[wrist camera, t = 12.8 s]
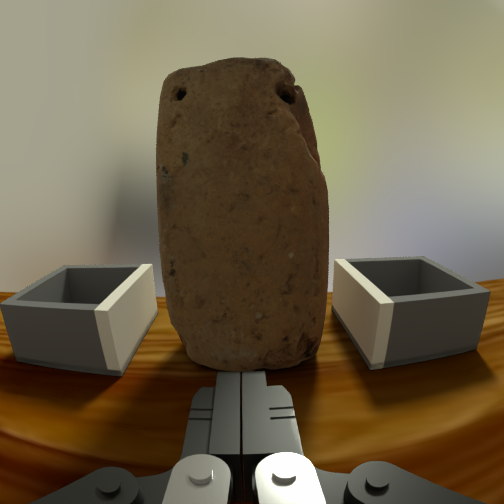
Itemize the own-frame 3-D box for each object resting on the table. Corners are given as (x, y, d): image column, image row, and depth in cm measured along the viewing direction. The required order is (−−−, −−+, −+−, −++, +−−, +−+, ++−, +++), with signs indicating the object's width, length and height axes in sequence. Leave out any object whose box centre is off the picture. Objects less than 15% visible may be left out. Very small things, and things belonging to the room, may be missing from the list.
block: (164, 366, 21) (145, 68, 17) (200, 322, 28) (191, 92, 24) (320, 384, 19) (326, 47, 14) (323, 331, 26) (325, 83, 21)
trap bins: (417, 301, 31) (423, 256, 30) (476, 349, 20) (490, 291, 19) (72, 310, 30) (64, 265, 29) (16, 361, 19) (-1, 303, 18)
